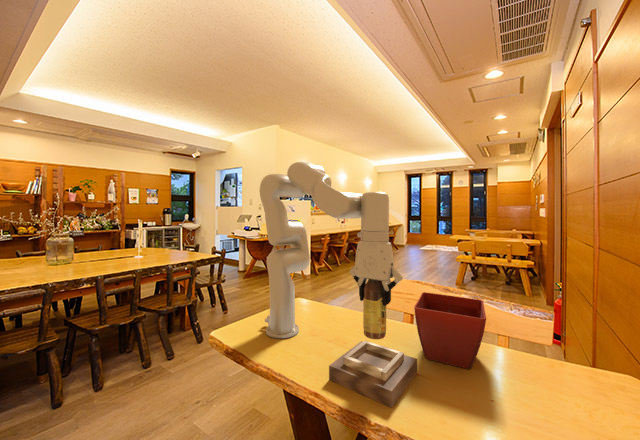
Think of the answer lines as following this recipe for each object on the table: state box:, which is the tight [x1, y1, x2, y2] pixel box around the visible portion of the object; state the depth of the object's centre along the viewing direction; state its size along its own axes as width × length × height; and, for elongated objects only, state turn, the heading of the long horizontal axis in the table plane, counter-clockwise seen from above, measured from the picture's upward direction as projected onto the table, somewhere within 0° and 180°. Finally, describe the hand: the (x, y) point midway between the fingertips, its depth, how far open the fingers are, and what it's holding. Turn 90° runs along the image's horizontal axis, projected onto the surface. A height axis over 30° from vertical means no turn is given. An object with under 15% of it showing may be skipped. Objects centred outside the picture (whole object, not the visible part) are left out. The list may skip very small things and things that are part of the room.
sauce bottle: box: [362, 279, 387, 340], centre depth 77 cm, size 6×6×20 cm
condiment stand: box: [328, 340, 418, 409], centre depth 78 cm, size 18×18×6 cm
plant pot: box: [413, 291, 487, 370], centre depth 89 cm, size 19×19×17 cm
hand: (374, 301), depth 77 cm, fingers closed on sauce bottle, 6 cm apart
